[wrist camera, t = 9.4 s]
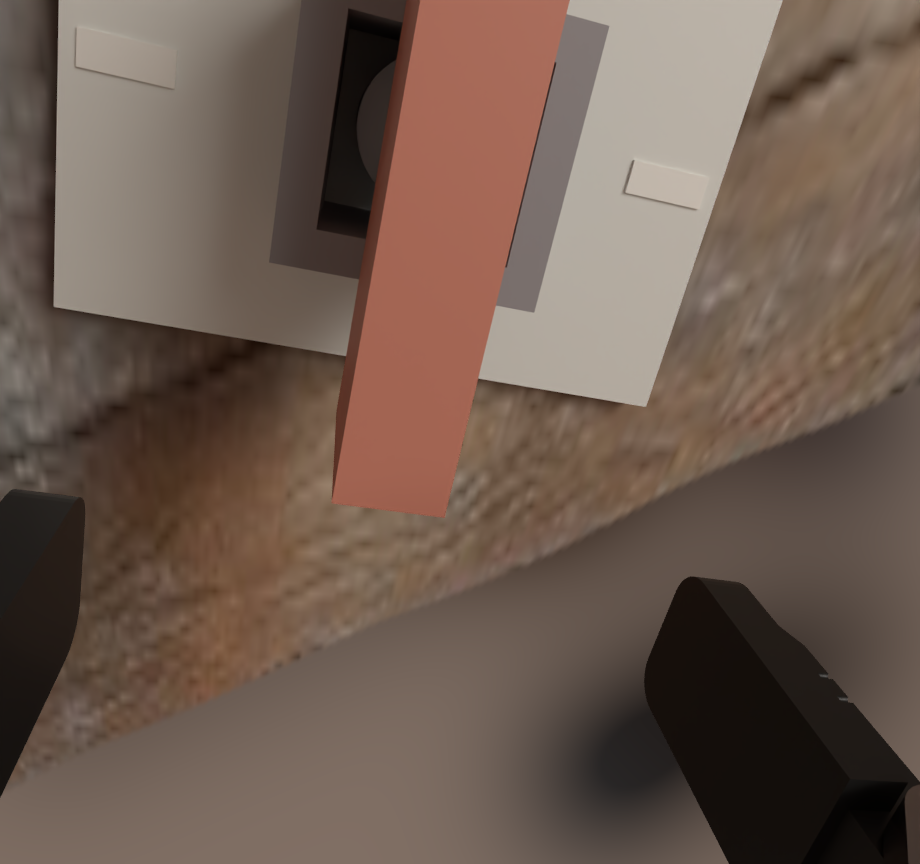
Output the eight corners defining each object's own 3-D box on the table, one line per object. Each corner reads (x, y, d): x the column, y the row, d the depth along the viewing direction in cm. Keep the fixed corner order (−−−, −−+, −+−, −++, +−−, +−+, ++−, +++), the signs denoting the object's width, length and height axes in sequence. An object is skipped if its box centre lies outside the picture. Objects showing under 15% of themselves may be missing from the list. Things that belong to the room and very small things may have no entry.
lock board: (67, 300, 25) (-18, 361, 19) (80, -288, 19) (-35, -449, 13) (633, 397, 29) (702, 471, 23) (785, -63, 23) (924, -115, 17)
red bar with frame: (339, -179, 20) (326, -438, 10) (586, -102, 21) (780, -266, 11) (272, 337, 25) (221, 489, 15) (473, 371, 26) (542, 530, 17)
